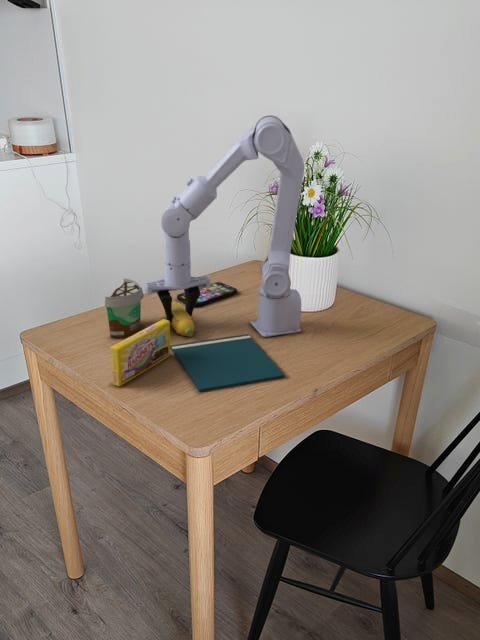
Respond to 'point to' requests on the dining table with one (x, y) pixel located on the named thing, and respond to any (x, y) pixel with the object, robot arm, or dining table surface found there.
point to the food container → (124, 309)
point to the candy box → (140, 352)
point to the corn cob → (181, 320)
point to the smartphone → (211, 293)
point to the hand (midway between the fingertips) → (179, 319)
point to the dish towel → (225, 362)
